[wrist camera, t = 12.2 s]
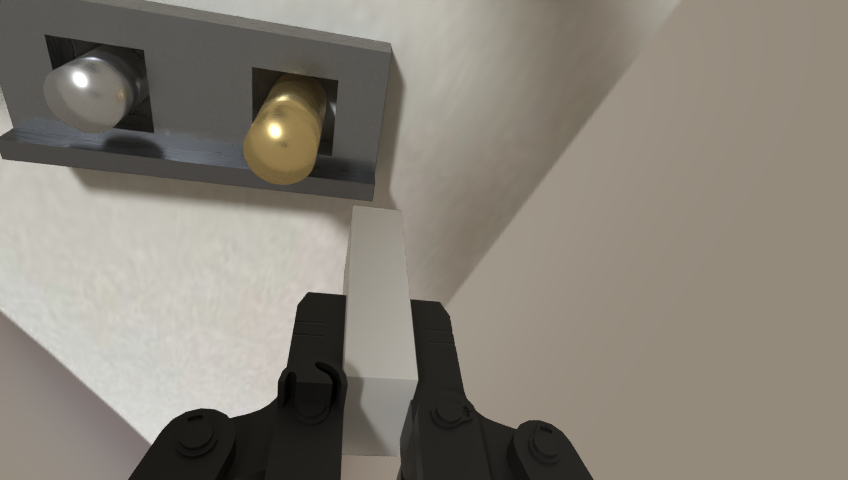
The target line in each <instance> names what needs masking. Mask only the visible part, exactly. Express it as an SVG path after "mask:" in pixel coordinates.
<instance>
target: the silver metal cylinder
mask: <svg viewBox="0 0 848 480" xmlns="http://www.w3.org/2000/svg"><path fill="white" fill-rule="evenodd" d="M43 92H44V97H45V100H46V102H47V104H48V106H49V108H50V109H51V111H52V112H53V113H54V114H55V115H56V116H57V117H58V118H59V119H60V120H61V121H62V122H64V123H65V124H66V125H68V126H70V127H72V128H74V129H76V130H79V131H82V132H86V133H102V132H105V131H107V130H109V129H111V128H112V127H113V126H115V125H116V124H117V123H118V122H119V121H120V120H122V119H123V118H124V117H125V116H126V115H127V114H128V113H130V112H131V111H132V110H133V109H134V108H135V107H137V106H138V105H139V104H140V103H141V102H142V101H144V100H145V99H146V98H147V97H148V96H149V87H148V79H147V72H146V64H145V61H144V60H143V58H142V57H141V56H140V55H138V54H137V53H136V52H134V51H133V50H131V49H130V48H127V47H121V46H115V45H109V44H104V45H101V46H99V47H97V48H95V49H93V50H91V51H89V52H87V53H85V54H84V55H82V56H80V57H78V58H76V59H74V60H72V61H70V62H68V63H66V64H64V65H63V66H61V67H59V68H57V69H55V70H53V71H52V72H50V73H49V75H48V76H47V77H46V79H45V82H44V87H43Z"/></svg>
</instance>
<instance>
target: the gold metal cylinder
mask: <svg viewBox="0 0 848 480" xmlns="http://www.w3.org/2000/svg"><path fill="white" fill-rule="evenodd" d="M326 109H327V97H326V94H325V91H324V89H323V88H322V86H321V85H320V84H319V83H318V82H317V81H316V80H315V79H314V78H312V77H310V76H307V75H300V74H294V73H289V74H286V75H283V76H282V77H280V78H279V79H278V80H277V81H276V82H275V83H274V85H273V87H272V89H271V90H270V92H269V94H268V96H267V98H266V100H265V102H264V104H263V105H262V107H261V109H260V111H259V113H258V115H257V117H256V118H255V120H254V122H253V124H252V126H251V128H250V130H249V132H248V133H247V135H246V137H245V140H244V144H243V153H244V157H245V160H246V162H247V164H248V166H249V167H250V169H251V170H252V171H253V172H254V173H255V174H256V175H257V176H259V177H260V178H262V179H263V180H265V181H268V182H270V183H274V184H279V185H289V184H294V183H297V182H299V181H301V180H303V179H304V178H306V177H307V176H308V175H309V174H310V172H311V171H312V169H313V167H314V164H315V160H316V155H317V151H318V146H319V141H320V137H321V132H322V127H323V123H324V118H325V113H326Z"/></svg>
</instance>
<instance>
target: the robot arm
mask: <svg viewBox="0 0 848 480" xmlns="http://www.w3.org/2000/svg"><path fill="white" fill-rule="evenodd" d="M399 447H400V455H401V466H400V469H399V473H398V476H397V480H593V478H592V476H591V475H590V473H589V472H588V470H587V468H586V467H585V465H584V463H583V462H582V460H581V458H580V457H579V455H578V453H577V452H576V450H575V449H574V447H573V445H572V444H571V442H570V441H569V440H568V438H567V437H566V436H565V435H564V433H563V432H562V431H560V430H559V429H557V428H556V427H555V426H553V425H552V424H549V423H546V422H543V421H540V420H539V421H538V420H532V421H531V420H529V421H527V422H525V423H522V424H520V426H519V427H518V428H517V429H514V428H511V427H508V426H505V425H502V424H500V423H497V422H494V421H492V420H489V419H487V418H485V417H484V416H482V415H481V414H479V413H478V412H477V411H476V410H475V408H474V406H473V405H472V404H471V403H470V402H469V401H468V399H467V398H466V395H465V392H464V388H463V383H462V378H461V373H460V368H459V362H458V358H457V352H456V347H455V342H454V337H453V334H452V326H451V321H450V316H449V314H448V313H447V312H446V310H445V309H444V307H443V306H442V305H441V303H440V302H434V301H422V300H411V299H410V293H409V284H408V274H407V264H406V254H405V244H404V234H403V224H402V214H401V211H399V210H391V209H382V208H374V207H365V206H357V205H353V210H352V217H351V225H350V233H349V241H348V248H347V256H346V264H345V271H344V284H343V295H337V294H325V293H313V292H308V293H307V294H306V295H305V297H304V298H303V299H302V300H301V302H300V303H299V304H298V306H297V312H296V317H295V324H294V329H293V335H292V340H291V346H290V351H289V357H288V363H287V367H286V368H285V369H284V370H283V371H282V373H281V376H280V378H279V380H278V396H277V398H276V399H275V400H273V401H272V402H271V403H270V404H269V405H267V406H266V407H264V408H262V409H261V410H258V411H255V412H252V413H250V414H246V415H241V416H237V417H233V418H229V417H228V416H227V415H226V414H224V413H222V412H219V411H217V410H215V409H202V408H201V409H196V410H192V411H188V412H185V413H183V414H182V415H180V416H178V417H176V418H174V419H173V420H172V421H171V422H170V423H169V424H168V425H167V426H166V427H165V428H164V429H163V430H162V431H161V433H160V434H159V435H158V437H157V438H156V440H155V441H154V443H153V444H152V446H151V447H150V449H149V450H148V451H147V453H146V454H145V456H144V457H143V459H142V460H141V462H140V463H139V465H138V466H137V467H136V469H135V470H134V472H133V473H132V475H131V476H130V478H129V479H128V480H341V479H340V478H341V459H342V455H358V456H361V455H362V456H397V454H398V450H399Z"/></svg>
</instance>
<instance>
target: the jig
mask: <svg viewBox="0 0 848 480" xmlns="http://www.w3.org/2000/svg"><path fill="white" fill-rule="evenodd" d="M71 39H77V40H83V41H89V42H96V43H102V44H109V45H115V46H121V47H128V48H134V49H141V50H144V56H145V64H146V72H147V79H148V87H149V95H150V103H151V110H152V117H151V116H144V115H136V114H129V113H128V114H127V115H126V116H125V117H124V118H123V119H122V120H120V121H119V122H118V123H117V124H116V125H115V126H113V127H112V128H111V129H109V130H107V131H105V132H102V133H86V132H82V131H79V130H76V129H74V128H72V127H70V126H68V125H66V124H65V123H64V122H62V121H61V120H60V119H59V118H58V117H57V116H56V115H55V114H54V113H53V112H52V111H51V109H50V108H49V106H48V104H47V102H46V100H45V97H44V92H43V87H44V82H45V79H46V77H47V76H48V75H49V73H50V72H52V71H53V70H55V69H57V68H59V67H61V66H63V65H64V64H66V63H68V62H70V61H72V60H74V59H75V58H74V53H73V48H72V43H71ZM390 60H391V46H390V43H387V42H381V41H375V40H369V39H364V38H358V37H352V36H346V35H340V34H335V33H329V32H323V31H317V30H312V29H306V28H300V27H294V26H289V25H283V24H277V23H271V22H266V21H260V20H254V19H248V18H242V17H237V16H231V15H225V14H219V13H214V12H208V11H202V10H196V9H191V8H185V7H179V6H173V5H168V4H162V3H156V2H150V1H144V0H0V84H1V87H2V91H3V94H4V97H5V101H6V104H7V108H8V111H9V114H10V118H11V121H12V124H13V129H11V130H10V131H8V132H7V133H5V134H3V135H2V136H0V153H1V156H2V159H6V160H15V161H24V162H32V163H41V164H50V165H59V166H67V167H76V168H85V169H94V170H103V171H111V172H120V173H129V174H138V175H146V176H155V177H164V178H173V179H181V180H190V181H199V182H208V183H216V184H225V185H234V186H243V187H252V188H260V189H269V190H278V191H287V192H295V193H304V194H313V195H322V196H330V197H339V198H348V199H357V200H365V201H372V200H373V193H374V186H375V166H376V159H377V152H378V145H379V138H380V131H381V124H382V117H383V110H384V103H385V96H386V89H387V82H388V75H389V67H390ZM260 68H262V69H268V70H275V71H281V72H287V73H294V74H300V75H307V76H313V77H319V78H326V79H332V80H338V92H337V103H336V115H335V126H334V138H333V141H330V140H322V139H320V141H319V146H318V151H317V155H316V160H315V164H314V167H313V169H312V171H311V172H310V174H309V175H308V176H307V177H306V178H304V179H303V180H301V181H299V182H297V183H294V184H289V185H279V184H274V183H270V182H268V181H265V180H263V179H262V178H260V177H259V176H257V175H256V174H255V173H254V172H253V171H252V170H251V169H250V167H249V166H248V164H247V162H246V160H245V157H244V153H243V144H244V140H245V137H246V135H247V133H248V132H249V130H250V128H251V126H252V124H253V122H254V120H255V118H256V117H257V115H258V113H259V111H260Z"/></svg>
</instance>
